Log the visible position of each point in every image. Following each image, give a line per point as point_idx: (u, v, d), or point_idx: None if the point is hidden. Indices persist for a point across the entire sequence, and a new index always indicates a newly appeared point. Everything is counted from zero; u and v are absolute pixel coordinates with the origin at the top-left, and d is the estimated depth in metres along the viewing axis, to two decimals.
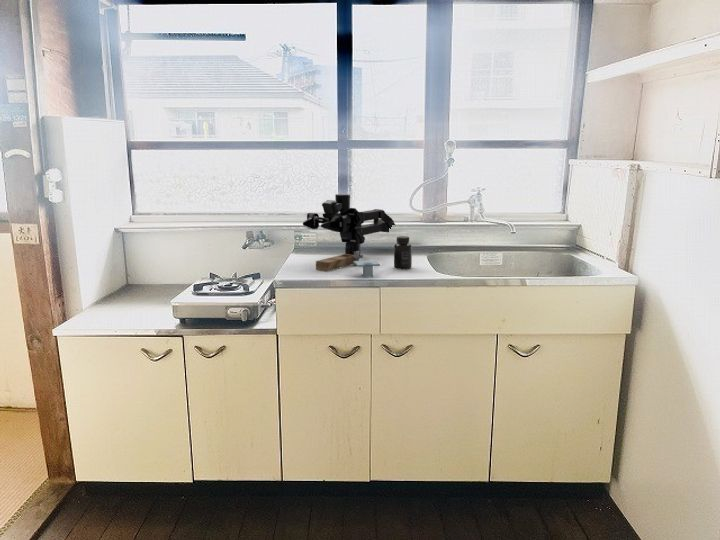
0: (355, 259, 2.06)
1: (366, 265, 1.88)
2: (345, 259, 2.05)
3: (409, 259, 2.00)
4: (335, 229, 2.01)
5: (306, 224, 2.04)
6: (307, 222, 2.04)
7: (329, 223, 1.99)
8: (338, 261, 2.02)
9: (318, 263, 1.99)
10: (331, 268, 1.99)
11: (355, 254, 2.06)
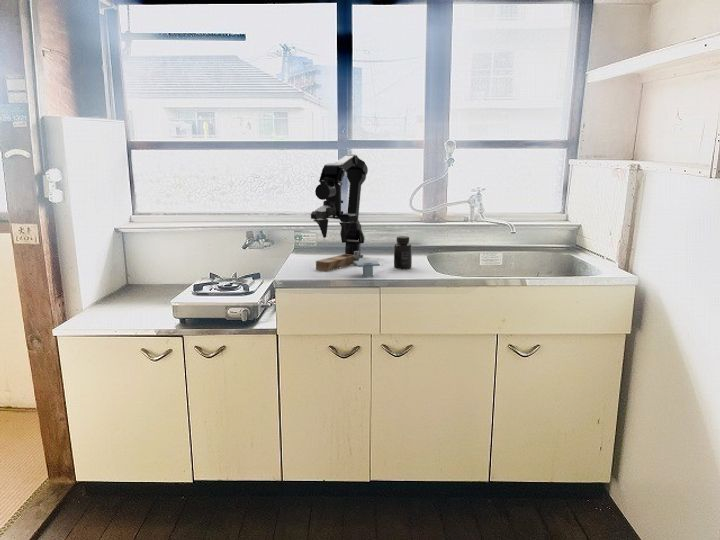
0: (355, 259, 2.06)
1: (366, 265, 1.88)
2: (345, 259, 2.05)
3: (409, 259, 2.00)
4: (350, 224, 1.98)
5: (325, 233, 2.05)
6: (324, 231, 2.04)
7: (344, 231, 1.98)
8: (338, 261, 2.02)
9: (318, 263, 1.99)
10: (331, 268, 1.99)
11: (355, 254, 2.06)
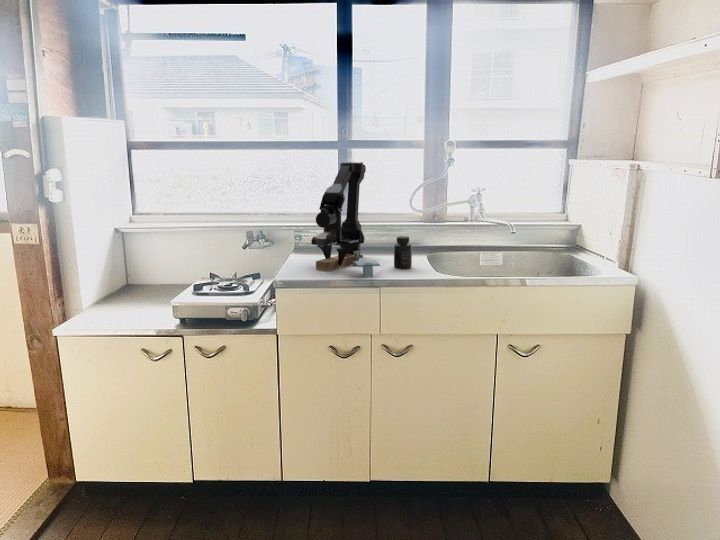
0: (355, 259, 2.06)
1: (366, 265, 1.88)
2: (345, 259, 2.05)
3: (409, 259, 2.00)
4: (347, 249, 2.02)
5: None
6: (328, 257, 2.05)
7: (341, 257, 2.01)
8: None
9: (318, 263, 1.99)
10: (331, 268, 1.99)
11: (355, 254, 2.06)
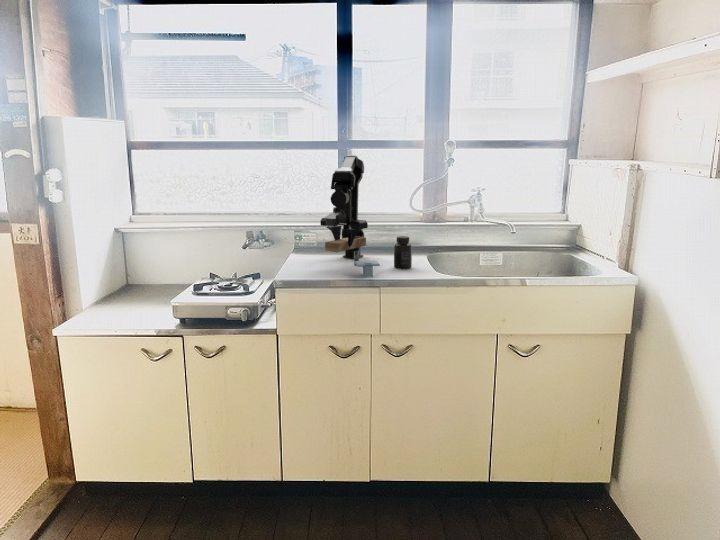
0: (355, 259, 2.06)
1: (366, 265, 1.88)
2: (355, 241, 2.00)
3: (409, 259, 2.00)
4: (357, 230, 1.97)
5: None
6: (337, 238, 2.01)
7: (351, 238, 1.96)
8: None
9: (327, 244, 1.94)
10: (341, 249, 1.94)
11: (355, 254, 2.06)
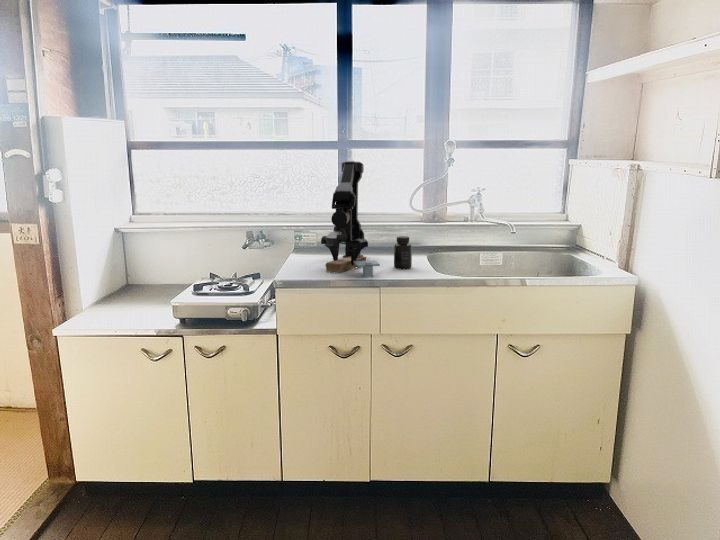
0: None
1: (366, 265, 1.88)
2: None
3: (409, 259, 2.00)
4: (359, 249, 1.98)
5: (337, 258, 2.04)
6: (335, 256, 2.03)
7: (354, 257, 1.97)
8: (348, 263, 1.99)
9: (328, 265, 1.96)
10: (341, 270, 1.96)
11: None
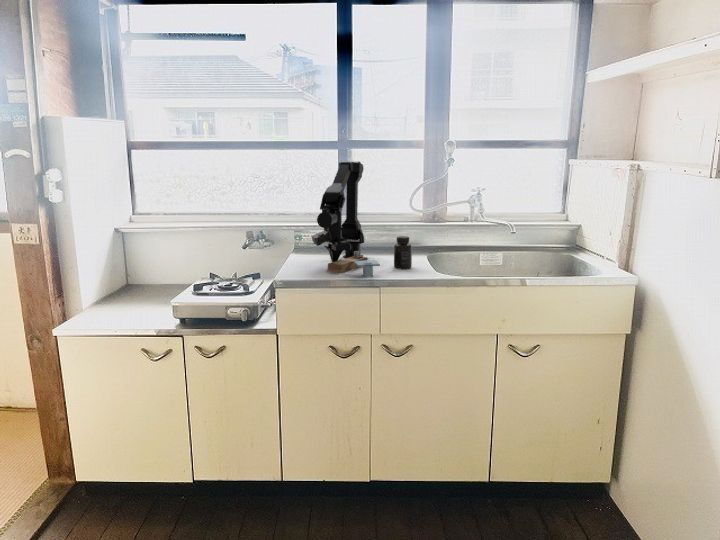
0: None
1: (366, 265, 1.88)
2: None
3: (409, 259, 2.00)
4: None
5: None
6: None
7: (334, 256, 1.99)
8: (350, 263, 1.98)
9: (330, 265, 1.95)
10: (343, 270, 1.95)
11: (355, 254, 2.06)
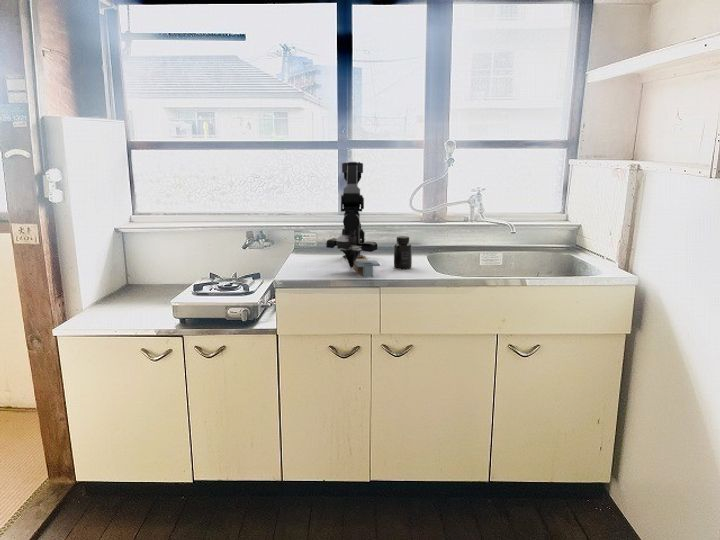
0: None
1: (366, 265, 1.88)
2: None
3: (409, 259, 2.00)
4: (358, 251, 1.96)
5: None
6: None
7: (353, 259, 1.95)
8: None
9: (361, 267, 1.92)
10: None
11: None
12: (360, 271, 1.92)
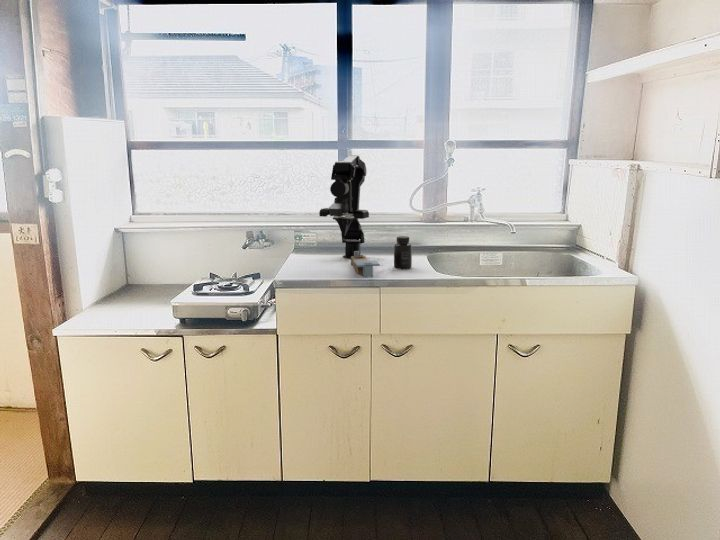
0: None
1: (366, 265, 1.88)
2: None
3: (409, 259, 2.00)
4: (351, 220, 2.03)
5: None
6: None
7: (346, 227, 2.02)
8: None
9: (361, 267, 1.92)
10: None
11: (355, 254, 2.06)
12: (360, 271, 1.92)
